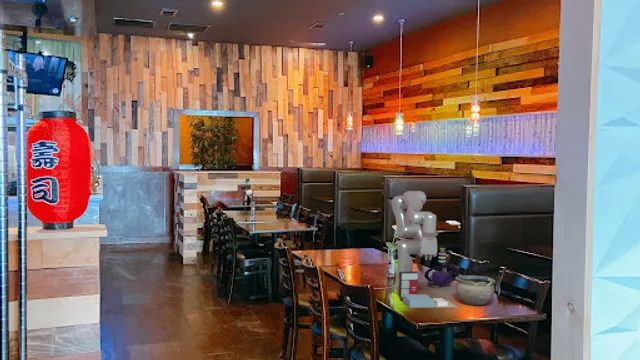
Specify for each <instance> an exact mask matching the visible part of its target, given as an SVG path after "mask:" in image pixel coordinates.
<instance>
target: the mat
mask: <svg viewBox="0 0 640 360" xmlns="http://www.w3.org/2000/svg"><path fill="white" fill-rule="evenodd" d="M444 300H445V299H444ZM445 301H447V302H448V306H437V305H436V304H435V303H434V308H458V306H457V305H456V304H454V303H453V302H452V301H450V300H447V299H446V300H445Z"/></svg>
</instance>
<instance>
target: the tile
mask: <svg viewBox="0 0 640 360" xmlns="http://www.w3.org/2000/svg"><path fill="white" fill-rule="evenodd" d="M431 298H432V299H433V300H434V303H435V304H436V305H437V306H448V302H447V301H445V299H444V298H441V297H431Z"/></svg>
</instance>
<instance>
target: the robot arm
mask: <svg viewBox="0 0 640 360" xmlns="http://www.w3.org/2000/svg"><path fill="white" fill-rule="evenodd" d="M426 201H427V195H426V194H425V192H424V191H422V190H408V191H405V192H404V193H403V194H402V195H397V196H394V197H393V198H392V200H391V209H392V212H393V215H394V217H395V223H396V231H397V235H398V237H399V238H401V239H400V240H398V241H397V244H396V250H397V278H396V279H397V280H396V284H395V285H394V289H396V290H399V272H414V271H413V270H414V269H413V268H414V266H413V265H414V261H413V259H412V257H411V255H418V256H419V257H422V258H423V259H424V261H423V262H424V266H425V267H426V268H427V267H430V266H431V261H432V259H433V258H435V257H437V256H438V255H437V254H438V239H437V236H438V235H439V233H438V232H437V215H436V214H434V213H433V212H431V211H422V209H423V205H425V203H426ZM404 209H405V210H406V211H405V210H404ZM421 225H422V226H421Z"/></svg>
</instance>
